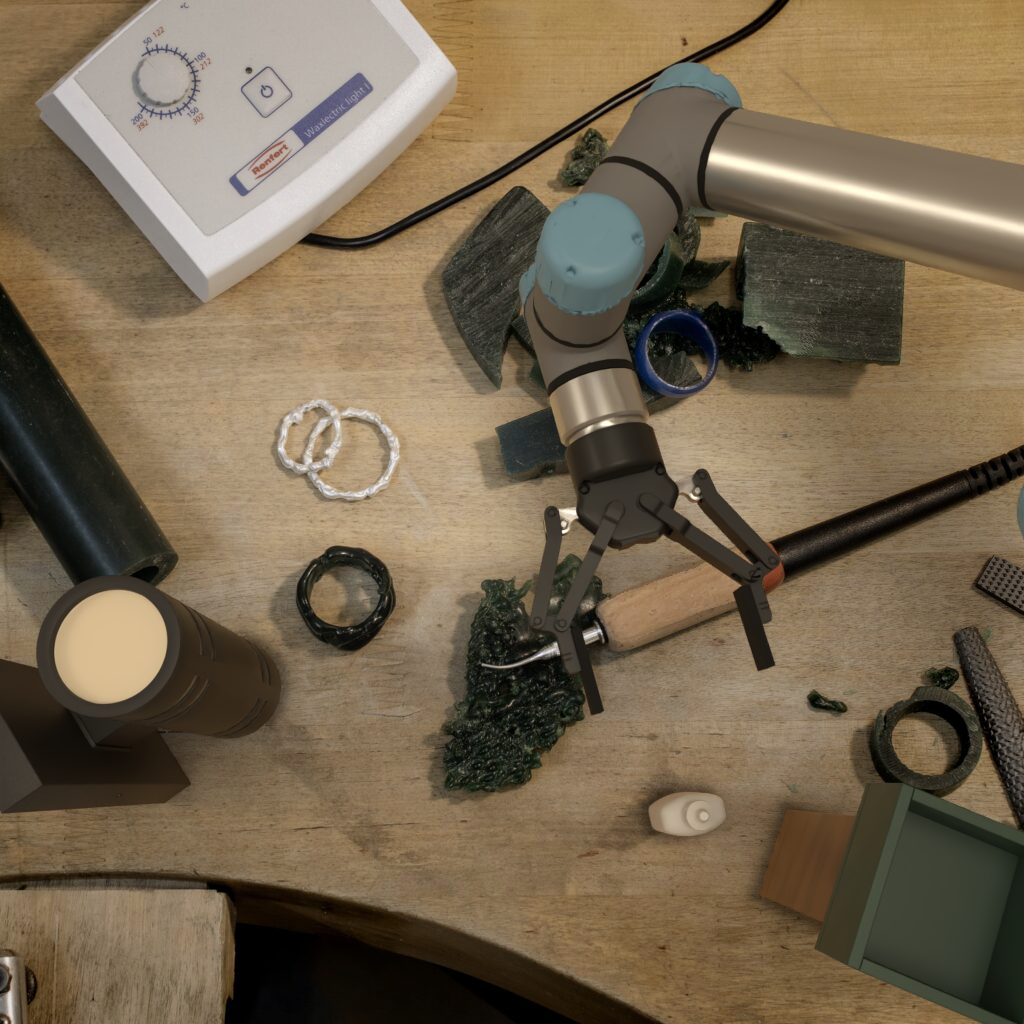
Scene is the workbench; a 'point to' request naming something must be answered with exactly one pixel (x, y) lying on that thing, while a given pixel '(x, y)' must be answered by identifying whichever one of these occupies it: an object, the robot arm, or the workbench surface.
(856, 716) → the workbench surface
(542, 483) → the workbench surface
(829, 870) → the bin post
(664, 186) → the robot arm
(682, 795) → the eye dropper bottle
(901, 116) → the workbench surface
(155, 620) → the light fixture
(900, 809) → the waste bin
